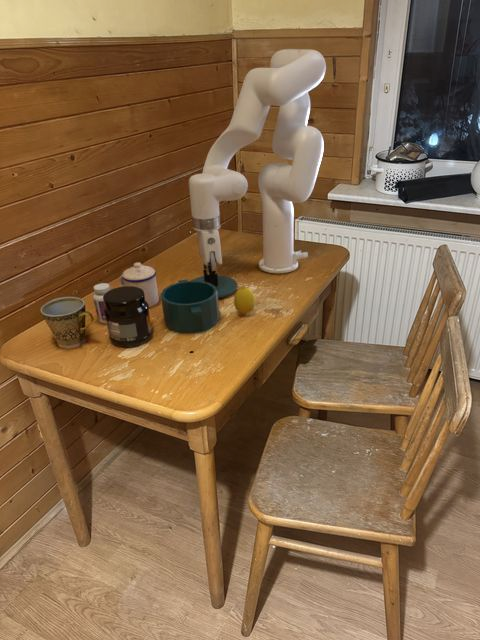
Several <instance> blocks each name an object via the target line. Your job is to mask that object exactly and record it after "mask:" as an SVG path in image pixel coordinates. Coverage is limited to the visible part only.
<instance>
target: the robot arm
mask: <svg viewBox="0 0 480 640" xmlns="http://www.w3.org/2000/svg"><path fill="white" fill-rule="evenodd" d="M269 63H270V64H269V67H255V68H252V69H251V70H249V71H248V72H247V74H246V75H245V77H244V80H243V83H242V86H241V89H240V92H239V95H238V98H237V101H236V104H235V107H234V111H233V113H232V116H231V119H230V123H229V125H228V126H227V127H226V129H225V130H224V131H222V133H221V134H220V136H219V137H218V138H217V139H216V140H215V141H214V143H213V144H212V145H211V147H210V148H209V151H208V153H207V156H206V158H205V162H204V165H203V168H202V173H196V174H193V175H191V176H190V178H189V179H188V190H189V200H190V211H191V221H192V229H193V230H194V231H196V235H197V236H196V237H197V248H198V255H199V257H200V260H201V261H202V268H203V269H202V270H203V271H202V272H203V276H204V282H206V281H207V282H208V283H210V284H212V285H214V286H215V287H216V286H218V276H217V275H218V267H217V264H218V265H222V264H223V256H222V247H221V240H220V238H221V237H220V233H219V229H221V211H220V202H232V201H238V200H240V199H242V198H243V197H244V196H245V195H246V193H247V191H248V188H249V183H248V180H247V178H246V177H245V176H244V175H243V174H242V173H241V172H239V171H237V170H232V169H228V167H229V164H230V161H231V160H232V158H233V157H234V155H236V153H237V152H238V151H239V150H241V149H242V148H244V147H246V146H248V145H250V144H252V143H254V142H256V141H257V140H259V139H260V137H261V135H262V132H263V129H264V125H265V122H266V119H267V117H268V114H269V111H270V108H271V106H275V107H279V108H278V109H279V110H278V115H277V119H276V123H275V127H274V131H273V135H272V140H271V149H272V152H273V154H274V155H275V156H276V157H278V158H281V159H284V160H289V161H292V164H288V163H282V162H276V161H275V162H268V163H266V164H265V165H264V166H262V168H261V169H260V170H259V173H258V177H257V185H258V190H259V195H260V201H261V210H262V215H261V216H262V249H263V251H262V252H263V253H262V256H263V257H262V259H260V260H259V262H258V268H259V269H260V270H261V271H263V272H265V273H269V274H287V273H291V272H294V271H295V270H297V269H298V268H299V260H301V259H302V260H303V259H308V258H309V253H308V252H307V251H306V252H305V251H304V252H302V250H298V251H295V250H294V239H295V238H294V231H295V230H294V224H295V223H294V222H295V221H294V220H295V212H294V205H293V203H294V204H301V203H304V202H306V201H307V200H308V199H309V198H310V196H311V195H312V193H313V191H314V187H315V185H316V181H317V177H318V174H319V171H320V166H321V162H322V160H323V159H322V158H323V155H324V149H325V147H324V146H325V144H324V137H323V135H322V132H321V131H320V130H319V129H318V128H316V127H314V126H311V125H308V122H309V121H308V120H309V117H310V112H311V97H310V95H309V92H310V91H311V90H313V89H314V88H316V87H317V86H318V85H319V84H320V83H321V82H322V80H323V79H324V77H325V74H326V71H327V64H326V59H325V57H324V56H323V54H322V53H321V52H319V51H318V50H316V49H307V48H306V49H305V48H304V49H301V48H300V49H299V48H285V49H280V50H278V51H275V52H274V53H273V54H272V56H271V58H270V62H269ZM206 269H207V274H206V271H205V270H206Z"/></svg>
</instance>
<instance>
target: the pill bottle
mask: <svg viewBox="0 0 480 640" xmlns="http://www.w3.org/2000/svg"><path fill="white" fill-rule="evenodd" d="M109 290H111V287H110V284H109V283H105V282H101V283H98V284H95V285H94V286H93V292H94V294H93V295H92V296H93V297H92V300H93V305H94V308H95V313H96V317H97V320H98V322H99V323H101V324H106V325H107V322H106V318H105V315H104V307H105V305H104V300H103V296H104V294H105V293H106V292H108V291H109Z"/></svg>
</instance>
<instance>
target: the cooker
mask: <svg viewBox="0 0 480 640" xmlns="http://www.w3.org/2000/svg"><path fill="white" fill-rule="evenodd" d="M160 301H161V307H162V315H163V321H164V325H165V327H166V328H167V329H168V330H170V331H172V332H175V333H179V334H198V333H201V332H202V333H203V332H205V331H208V330H210V329H212V328H214V327H215V326H216V325H217V324H218V323H219V321H220V305H219V298H218V291H217V289H216V287H215V286H214V285H212V284H210V283H208V282H203V281H191V280H188V279H180V280H178V282H175V283H173V284H170V285H167V287H165V288H163V289H162V291H161V293H160Z"/></svg>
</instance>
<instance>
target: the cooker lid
mask: <svg viewBox="0 0 480 640" xmlns="http://www.w3.org/2000/svg"><path fill="white" fill-rule="evenodd" d="M204 270H205V269H204ZM205 271H206V274H207V269H206V270H205ZM217 276H218V286H216V289H217V291H218V299H221V298H225V297H227V296H230V295H231V294H234V293H236V292H237V290H238V282H237V281H236V280H235V279H234V278H232V277H230V276H226V275H220V274H217ZM190 281H203V282H204V275H201V276H198V277H195V278H193V279H191V280H190ZM206 282H207V281H206Z"/></svg>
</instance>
